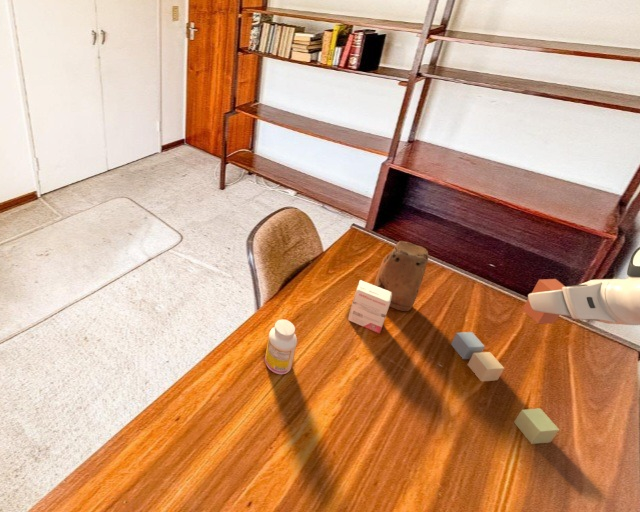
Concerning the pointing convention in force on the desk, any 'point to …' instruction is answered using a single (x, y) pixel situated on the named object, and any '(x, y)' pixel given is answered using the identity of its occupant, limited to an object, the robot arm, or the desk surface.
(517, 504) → the desk surface
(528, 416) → the cube
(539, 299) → the robot arm
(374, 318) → the ink box
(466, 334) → the cube
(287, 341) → the supplement bottle
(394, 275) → the brown tall rounded lump
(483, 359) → the cube
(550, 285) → the tall block
